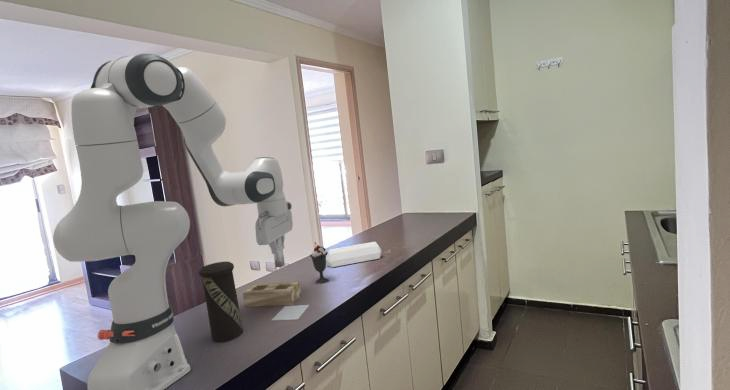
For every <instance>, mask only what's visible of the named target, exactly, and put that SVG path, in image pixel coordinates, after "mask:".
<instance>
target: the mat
mask: <svg viewBox="0 0 730 390" xmlns="http://www.w3.org/2000/svg"><path fill="white" fill-rule="evenodd" d="M309 306H310V304H301V305H298V304H297V305H284V307H282V309H280V311H279V312H278V313H277V314H276V315H275V316H274V317H273V318H272V319H271V321H290V320H296V321H297V320H299V319H300V317H301V316H302V315H304V314H303V313H304V312H305V311H306V310H307V309H308V307H309Z"/></svg>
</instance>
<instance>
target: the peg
mask: <svg viewBox="0 0 730 390" xmlns="http://www.w3.org/2000/svg"><path fill="white" fill-rule="evenodd" d="M276 245H277V247H278V248H279V252H278V253H277V254H273V260H274V265H275V268H282V267H284V266H285V264H286V263H285V257H284V249H283V248H282V240H281V237H280V238H278V239H276Z"/></svg>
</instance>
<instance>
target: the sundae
mask: <svg viewBox="0 0 730 390" xmlns="http://www.w3.org/2000/svg"><path fill="white" fill-rule="evenodd" d="M314 244H315V247H314V249H313V251H312V253H311V254H310V255H309V257H310V258H311V260H312V263H313V264H312V265H313V267H314V269H315V271H317V272H318V273H319V279H317V280H315V284H325V283H327V282H329V281H330V279H329V278H325V277H324V274H323V273H324V271H325V270H326V268H327V263H326V256H327V254H328V251H326V248H325V247H323V246H320V245H318V244H317V242H314Z"/></svg>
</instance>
